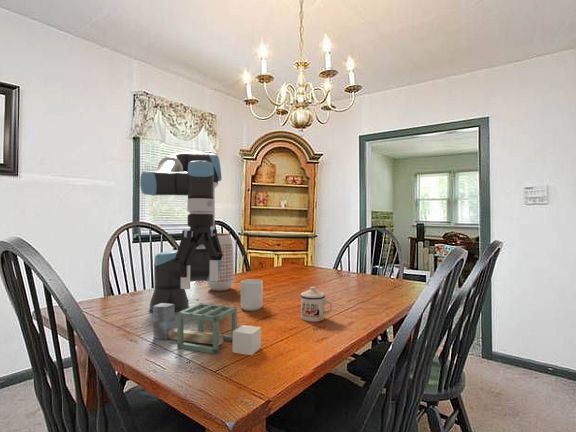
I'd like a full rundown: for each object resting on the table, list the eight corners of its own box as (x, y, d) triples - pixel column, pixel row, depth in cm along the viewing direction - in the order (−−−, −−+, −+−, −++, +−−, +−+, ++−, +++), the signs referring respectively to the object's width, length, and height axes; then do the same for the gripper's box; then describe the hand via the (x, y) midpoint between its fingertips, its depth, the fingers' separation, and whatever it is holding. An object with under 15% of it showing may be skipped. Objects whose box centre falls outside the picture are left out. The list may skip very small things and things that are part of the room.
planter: (231, 292, 173) (231, 234, 173) (204, 292, 174) (204, 234, 173) (235, 286, 187) (235, 233, 186) (210, 286, 187) (210, 232, 187)
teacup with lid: (297, 320, 130) (297, 288, 129) (304, 313, 138) (304, 283, 138) (329, 324, 125) (329, 291, 125) (335, 317, 134) (335, 286, 134)
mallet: (153, 338, 111) (152, 306, 111) (162, 334, 115) (161, 303, 115) (217, 346, 103) (216, 311, 103) (224, 341, 107) (224, 308, 107)
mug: (255, 312, 140) (255, 284, 140) (236, 309, 143) (236, 282, 143) (269, 305, 151) (269, 278, 151) (251, 302, 154) (251, 277, 154)
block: (232, 352, 100) (232, 331, 100) (242, 345, 106) (242, 324, 106) (251, 355, 98) (251, 334, 98) (260, 347, 104) (260, 327, 104)
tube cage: (177, 347, 104) (177, 312, 103) (200, 334, 114) (200, 303, 114) (216, 354, 99) (216, 317, 99) (236, 340, 109) (236, 307, 109)
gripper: (182, 212, 93) (182, 293, 93) (233, 213, 116) (233, 279, 116) (160, 212, 96) (160, 291, 96) (214, 214, 119) (214, 277, 119)
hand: (200, 284), depth 106 cm, fingers open, 13 cm apart
